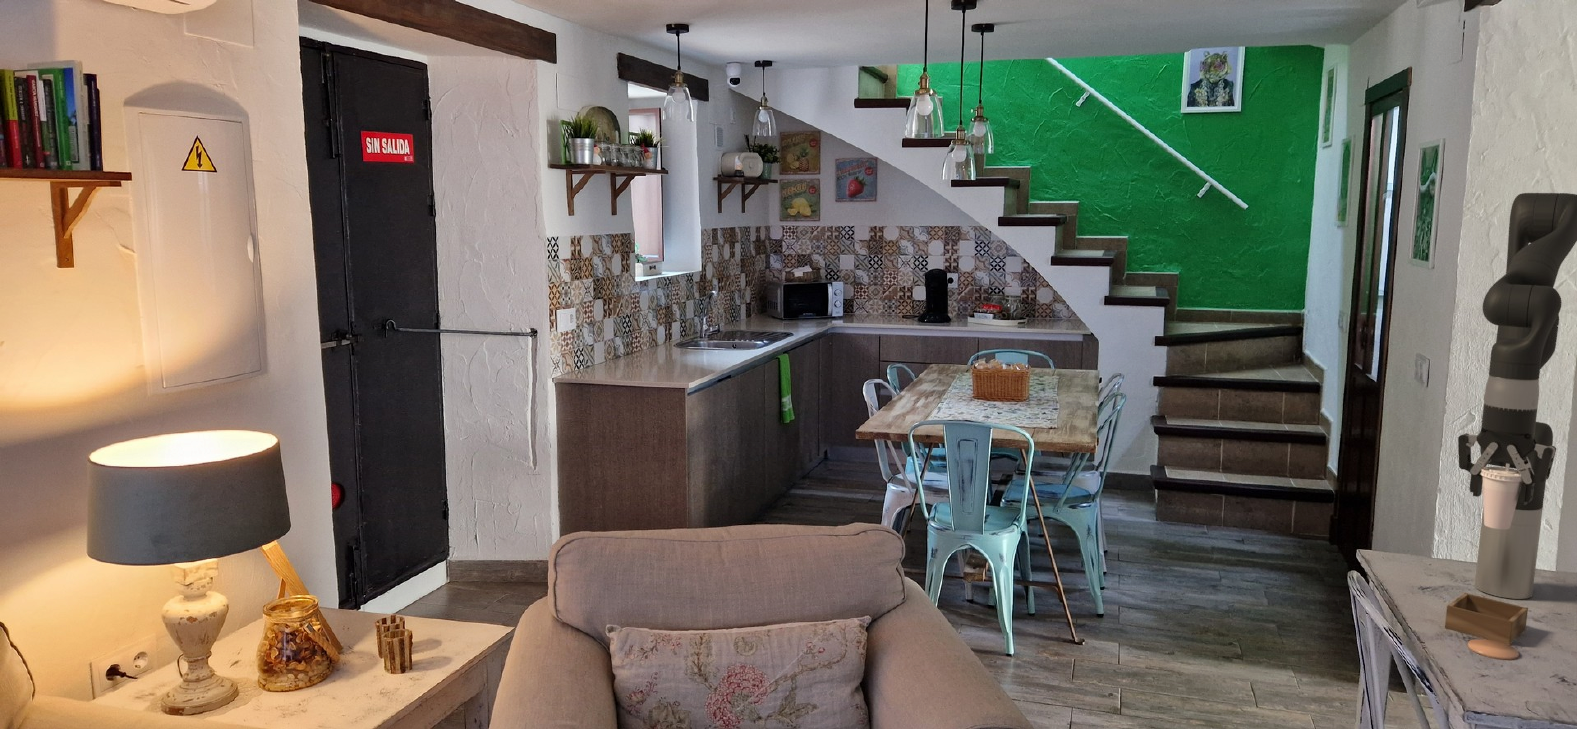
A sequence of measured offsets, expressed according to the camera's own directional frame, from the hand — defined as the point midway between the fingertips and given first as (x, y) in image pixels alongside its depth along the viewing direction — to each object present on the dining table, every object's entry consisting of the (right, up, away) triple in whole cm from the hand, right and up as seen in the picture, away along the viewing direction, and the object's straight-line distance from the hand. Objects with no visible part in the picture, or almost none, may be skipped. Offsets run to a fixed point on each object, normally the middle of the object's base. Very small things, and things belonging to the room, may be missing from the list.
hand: (1499, 499), depth 181 cm
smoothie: (0, -5, +1) cm, 5 cm away
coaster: (-5, -24, -6) cm, 25 cm away
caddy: (0, -23, +3) cm, 23 cm away
